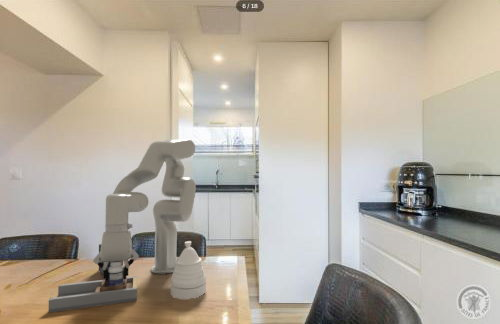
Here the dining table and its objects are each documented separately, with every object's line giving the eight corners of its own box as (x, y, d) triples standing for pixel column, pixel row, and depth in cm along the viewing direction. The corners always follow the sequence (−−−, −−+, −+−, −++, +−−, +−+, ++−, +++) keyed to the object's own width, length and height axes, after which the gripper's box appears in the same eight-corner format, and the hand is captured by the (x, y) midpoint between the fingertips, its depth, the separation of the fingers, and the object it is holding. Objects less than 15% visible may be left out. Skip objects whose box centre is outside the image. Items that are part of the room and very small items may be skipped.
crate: (132, 285, 112) (132, 276, 112) (131, 295, 103) (131, 285, 103) (97, 290, 108) (97, 280, 108) (93, 301, 99) (93, 289, 99)
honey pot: (168, 288, 113) (169, 240, 114) (201, 283, 118) (201, 238, 119) (173, 301, 101) (174, 249, 102) (209, 295, 106) (210, 245, 107)
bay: (136, 286, 114) (137, 276, 114) (136, 300, 102) (136, 288, 102) (59, 296, 105) (59, 284, 105) (48, 312, 93) (48, 299, 93)
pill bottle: (111, 285, 108) (111, 258, 109) (126, 285, 109) (126, 258, 109) (105, 291, 103) (105, 263, 103) (120, 291, 103) (121, 263, 104)
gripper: (142, 225, 113) (141, 272, 112) (91, 227, 107) (90, 278, 106) (142, 228, 106) (141, 279, 105) (88, 232, 100) (87, 286, 99)
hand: (116, 278), depth 106 cm, fingers closed on pill bottle, 5 cm apart
